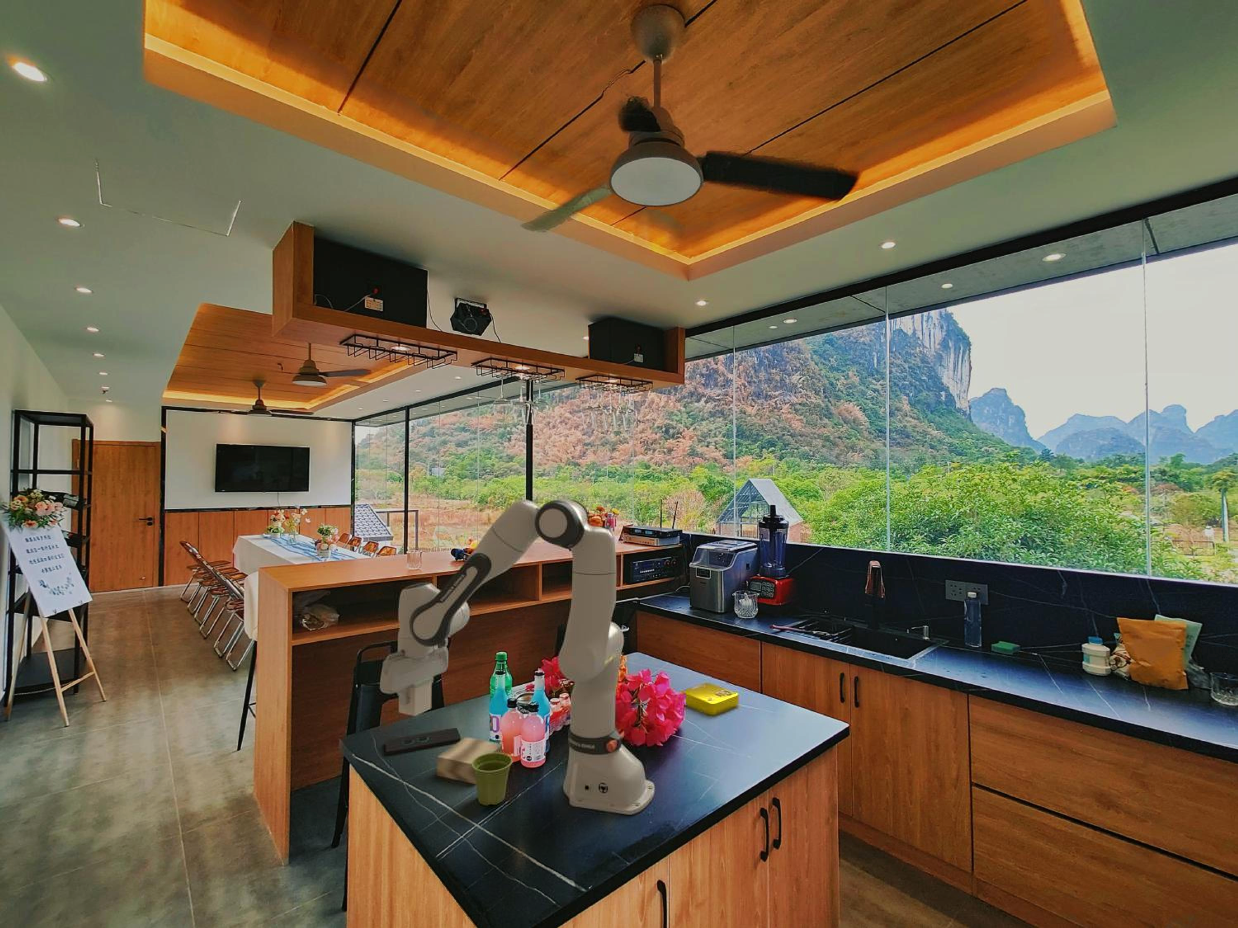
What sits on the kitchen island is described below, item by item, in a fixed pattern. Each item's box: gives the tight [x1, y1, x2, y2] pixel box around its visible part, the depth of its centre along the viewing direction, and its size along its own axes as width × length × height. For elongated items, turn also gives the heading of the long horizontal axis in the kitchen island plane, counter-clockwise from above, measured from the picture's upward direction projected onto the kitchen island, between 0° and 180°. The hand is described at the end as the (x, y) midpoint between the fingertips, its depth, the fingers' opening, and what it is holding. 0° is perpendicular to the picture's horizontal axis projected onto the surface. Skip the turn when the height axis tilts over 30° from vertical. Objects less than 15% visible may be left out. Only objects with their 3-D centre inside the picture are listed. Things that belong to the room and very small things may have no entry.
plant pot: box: [472, 752, 513, 806], centre depth 132 cm, size 9×9×9 cm
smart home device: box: [384, 727, 462, 757], centre depth 160 cm, size 8×2×20 cm
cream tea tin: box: [398, 677, 434, 717], centre depth 145 cm, size 6×6×8 cm
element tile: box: [681, 682, 740, 716], centre depth 190 cm, size 15×15×5 cm
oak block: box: [436, 736, 503, 785], centre depth 146 cm, size 12×12×5 cm
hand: (415, 699), depth 144 cm, fingers closed on cream tea tin, 6 cm apart
